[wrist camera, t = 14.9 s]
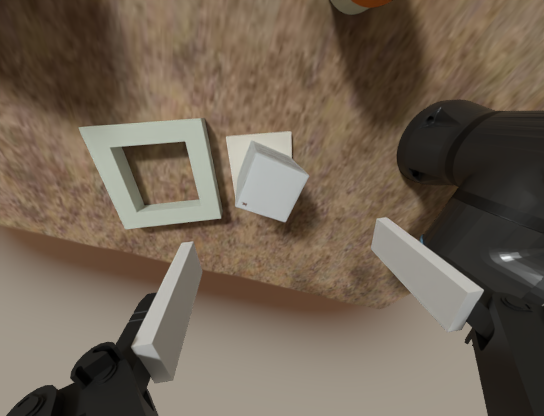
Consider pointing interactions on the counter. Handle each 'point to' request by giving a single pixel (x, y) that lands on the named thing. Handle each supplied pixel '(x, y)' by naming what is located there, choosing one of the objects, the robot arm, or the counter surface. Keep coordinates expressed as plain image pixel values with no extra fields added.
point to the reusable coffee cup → (357, 5)
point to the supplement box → (269, 182)
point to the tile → (272, 140)
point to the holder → (122, 184)
